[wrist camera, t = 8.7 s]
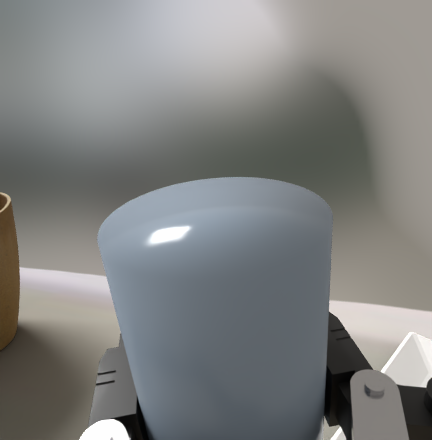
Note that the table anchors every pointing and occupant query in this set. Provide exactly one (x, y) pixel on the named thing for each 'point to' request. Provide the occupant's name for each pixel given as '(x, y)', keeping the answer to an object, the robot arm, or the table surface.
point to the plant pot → (8, 273)
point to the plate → (407, 366)
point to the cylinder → (224, 307)
